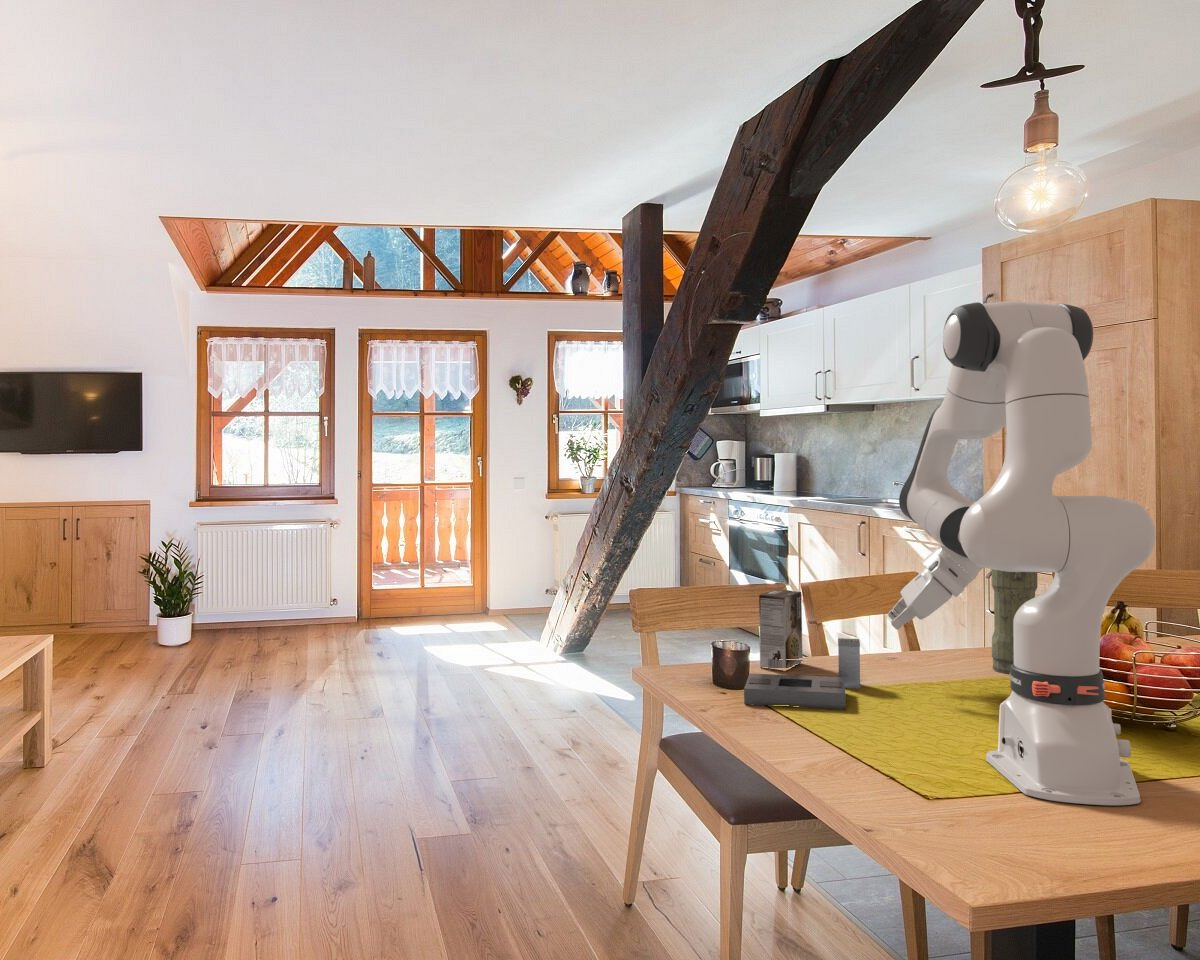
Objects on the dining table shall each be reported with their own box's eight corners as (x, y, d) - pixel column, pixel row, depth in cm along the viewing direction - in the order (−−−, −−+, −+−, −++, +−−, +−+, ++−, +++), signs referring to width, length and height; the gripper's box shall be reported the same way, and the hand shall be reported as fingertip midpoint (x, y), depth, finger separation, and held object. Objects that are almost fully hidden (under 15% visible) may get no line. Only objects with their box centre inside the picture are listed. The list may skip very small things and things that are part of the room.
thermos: (1027, 664, 192) (1026, 502, 191) (1047, 677, 180) (1045, 505, 180) (984, 663, 193) (983, 502, 193) (1001, 676, 182) (999, 505, 181)
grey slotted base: (845, 709, 159) (845, 692, 159) (744, 704, 163) (743, 687, 163) (844, 693, 170) (844, 676, 170) (749, 688, 175) (749, 672, 175)
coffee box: (776, 660, 200) (775, 588, 199) (803, 663, 196) (802, 590, 196) (758, 668, 192) (757, 594, 192) (786, 672, 188) (785, 596, 188)
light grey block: (860, 688, 174) (859, 643, 173) (838, 687, 175) (838, 642, 174) (859, 683, 177) (859, 638, 177) (838, 682, 179) (838, 638, 178)
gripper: (926, 555, 182) (877, 601, 185) (938, 567, 162) (882, 619, 165) (950, 577, 181) (900, 623, 183) (964, 592, 161) (908, 644, 164)
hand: (891, 622), depth 174 cm, fingers open, 8 cm apart
